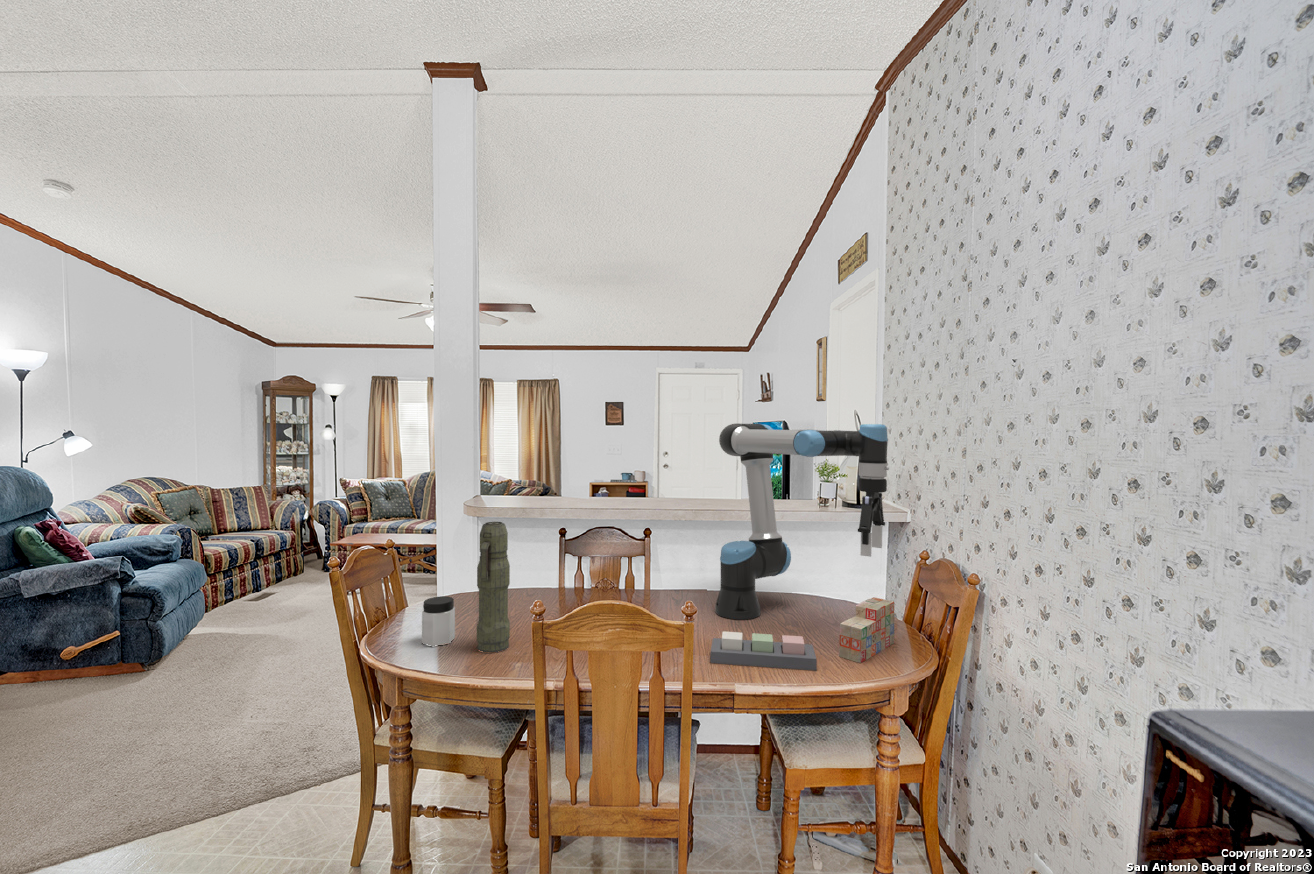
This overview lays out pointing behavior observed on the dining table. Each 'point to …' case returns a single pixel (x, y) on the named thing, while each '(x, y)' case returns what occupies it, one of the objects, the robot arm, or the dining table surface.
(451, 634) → the jar
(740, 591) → the robot arm
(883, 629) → the stack of blocks
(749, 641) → the button panel
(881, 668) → the dining table surface
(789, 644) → the rose button
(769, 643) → the sage button
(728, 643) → the white button
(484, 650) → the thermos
